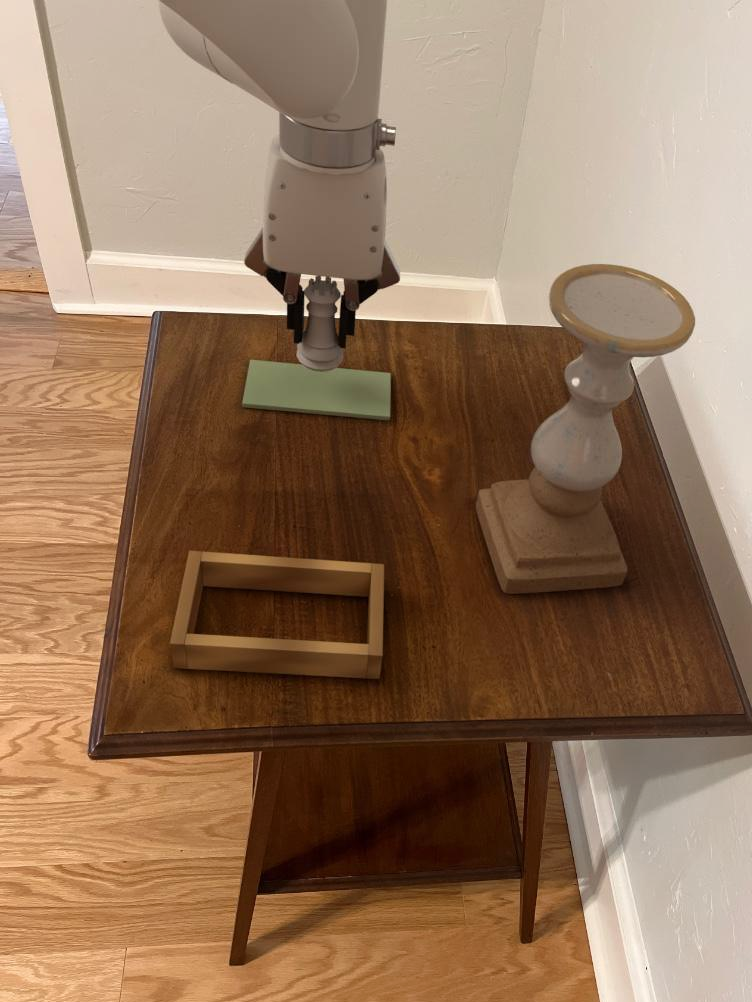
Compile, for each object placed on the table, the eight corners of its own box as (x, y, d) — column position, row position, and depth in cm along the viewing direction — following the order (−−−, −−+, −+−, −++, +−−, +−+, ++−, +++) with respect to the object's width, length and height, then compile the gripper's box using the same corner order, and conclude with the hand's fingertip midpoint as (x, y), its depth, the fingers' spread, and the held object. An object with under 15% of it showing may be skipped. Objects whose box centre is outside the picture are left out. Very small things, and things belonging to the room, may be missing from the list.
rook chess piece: (293, 346, 87) (294, 269, 81) (339, 345, 88) (343, 269, 82) (299, 374, 84) (300, 297, 78) (347, 373, 85) (352, 297, 79)
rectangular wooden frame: (173, 668, 66) (169, 643, 64) (191, 576, 72) (189, 550, 70) (379, 679, 68) (382, 655, 66) (381, 588, 74) (384, 563, 72)
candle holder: (624, 586, 78) (727, 349, 60) (502, 595, 75) (571, 350, 57) (586, 497, 85) (668, 260, 67) (473, 502, 82) (526, 257, 64)
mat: (242, 407, 86) (242, 403, 86) (250, 363, 90) (250, 359, 90) (389, 420, 88) (390, 416, 87) (390, 376, 92) (391, 372, 92)
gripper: (432, 127, 74) (408, 323, 88) (225, 100, 72) (234, 305, 86) (434, 170, 69) (409, 370, 83) (213, 142, 67) (224, 352, 81)
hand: (320, 335), depth 84 cm, fingers closed on rook chess piece, 3 cm apart
